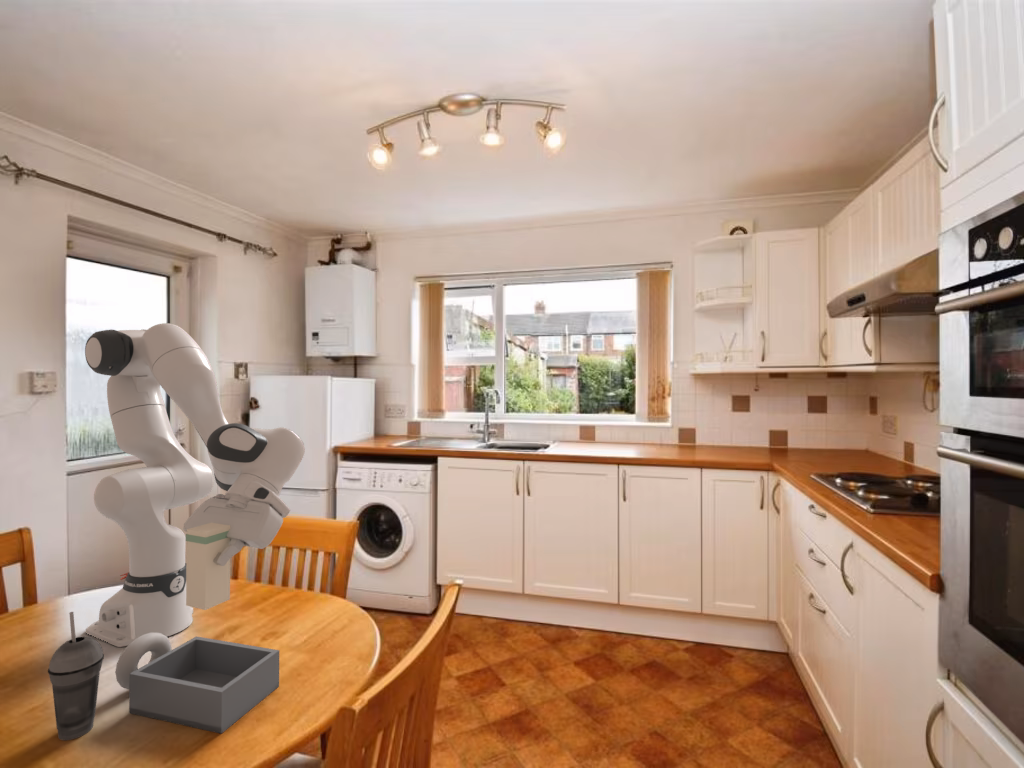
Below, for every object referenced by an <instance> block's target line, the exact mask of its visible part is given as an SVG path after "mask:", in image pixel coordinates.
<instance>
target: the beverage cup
mask: <svg viewBox="0 0 1024 768" xmlns="http://www.w3.org/2000/svg"><path fill="white" fill-rule="evenodd" d="M68 614H69V623H70V624H69V626H70V634H71V639H68V640H67V641H65V642H63V643H62V644H61V645H60V646H59V647H58V648H57V649H56V650H55V652H53V655H52V656H51V658H50V659H51V660H50V661H49V665H48V668H47V673H48V676H49V680H50V683H51V686H52V687H51V689H52V695H53V697H52V698H53V706H54V715H55V716H54V717H55V724H56V730H57V734H58V736H57V737H58V739H59V740H61V741H71V740H74V739H77V738H79V737H82V736H85V735H86V734H88V733H89V732H90V731H91V730H92V729H93V727H94V720H95V716H96V709H97V699H98V690H99V683H100V682H99V681H100V673H101V670H102V666H103V661H104V657H105V653H104V651H103V650H104V649H103V648H102V646H101V644H100V643H99V641H97V640H96V638H94V637H89V636H78V637H76V627H75V617H74V615H75V614H74V611H71V612H69V613H68Z"/></svg>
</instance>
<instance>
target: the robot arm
mask: <svg viewBox="0 0 1024 768" xmlns="http://www.w3.org/2000/svg"><path fill="white" fill-rule="evenodd" d="M84 354H85V355H84V356H85V360H86V363H87V365H88V367H89V368H90V369H91V370H92V371H93V372H94V373H96V374H99V375H104V376H110V377H109V378H108V380H107V381H106V394H107V397H106V398H107V405H108V411H109V417H110V419H111V424H112V429H113V432H114V437H115V440H116V444H117V446H118V448H119V449H120V450H121V451H122V452H123V453H126V454H128V455H130V456H134V457H136V458H138V459H139V460H140V461H141V462H143V464H144V465H145V466H143V467H142V466H141V467H135V468H130V469H125V470H122V471H121V470H120V471H118V472H116V473H115V472H114V473H113V474H110V475H107V476H105V477H103V478H102V479H101V480H100V481H99V482H98V484H97V486H96V487H95V490H94V494H93V502H94V506H95V508H96V509H97V511H98V513H99V514H101V515H102V516H103V517H105V518H106V519H108V520H111V521H113V522H115V523H116V524H117V525H118V526H119V527H120V529H121V530H122V531H123V533H124V535H125V538H126V540H127V546H128V560H129V565H128V566H129V568H128V569H129V571H128V572H126V573H123V574H121V575H119V576H120V577H121V578H120V579H119V580H121V581H122V580H124V583H123V585H122V588H121V589H119V590H118V591H117V592H116V593H114V594H113V595H112V596H110V597H109V598H108V599H107V600H105V601H104V603H102V604H101V606H100V609H99V615H98V620H95V622H93V623H91V624H90V625H89V626H87V627H86V628H85V632H86V633H87V634H86V633H85V634H86V635H88V634H89V635H88V636H90V635H92V636H91V637H93V636H94V637H93V638H95V637H96V638H95V639H98V638H99V639H98V640H100V639H101V641H103V640H104V641H103V642H105V641H106V643H107V642H108V643H107V644H110V645H112V646H115V647H117V648H121V647H127V646H128V645H129V644H130V643H131V642H133V641H134V640H135V639H137V638H138V637H140V636H142V635H144V634H148V633H151V632H152V633H161V634H163V635H165V636H167V637H171V636H172V635H173V636H174V635H176V634H177V633H180V632H182V631H184V630H185V629H187V628H188V627H189V626H190V625H192V623H193V621H194V617H193V613H194V607H190V606H186V543H187V541H186V534H185V533H184V531H185V532H186V533H187V529H190V528H194V527H197V526H201V525H205V524H208V523H218V524H224V525H230V529H229V531H228V533H227V537H228V538H230V542H229V545H230V546H229V547H227V548H226V549H225V550H224V551H223V552H222V553H219V552H218V554H217V555H216V557H215V558H214V560H213V562H214V563H216V564H217V565H221V566H224V565H225V564H226V563H227V562H228V560H229V559H230V560H231V558H233V557H234V556H235V555H236V554H238V553H240V552H241V551H242V549H243V548H244V547H250V548H255V549H260V550H262V549H265V548H267V547H268V546H269V545H270V544H271V543H272V542H273V541H274V539H275V537H276V536H277V535H278V533H279V530H280V529H281V527H282V526H283V522H284V518H287V516H288V515H290V512H291V509H290V507H289V506H288V505H287V503H285V502H284V500H283V499H282V498H281V497H280V495H281V493H282V489H283V487H284V485H286V483H288V482H289V481H290V480H291V479H292V478H293V476H294V474H295V473H296V471H297V469H298V467H299V466H300V464H301V462H302V460H303V458H304V456H305V449H306V448H305V443H304V442H303V440H302V438H301V437H300V436H299V435H298V434H297V433H296V432H295V431H293V430H291V429H290V428H287V427H283V426H281V427H275V428H271V429H267V428H256V427H251V426H249V425H246V424H243V423H238V422H235V423H229V422H228V421H227V418H226V417H225V414H224V412H223V409H222V405H221V400H220V396H219V395H220V394H219V390H218V389H219V388H218V383H217V378H216V374H215V372H214V369H213V366H212V364H211V362H210V359H208V357H207V355H206V353H205V352H204V350H203V349H202V348H201V346H200V345H199V344H198V343H197V341H196V340H195V339H194V338H193V337H192V336H191V335H190V334H189V333H188V332H187V331H186V330H184V329H183V328H182V327H180V326H179V325H177V324H173V323H169V322H168V323H167V322H166V323H165V322H164V323H158V324H155V325H153V326H150V327H149V328H148V329H143V328H142V329H123V330H116V329H105V330H99V331H95V332H94V333H92V334H91V335H90V336H89V337H88V339H87V340H86V343H85V348H84ZM161 388H162V389H163V391H164V392H165V393H166V394H167V396H169V397H170V399H171V400H172V401H173V402H174V403H175V405H176V406H177V407H178V409H180V411H181V412H182V413H183V414H184V416H185V417H187V419H188V420H189V422H190V423H191V424H192V426H194V429H195V430H196V432H197V433H198V435H199V436H200V438H201V440H202V442H203V443H204V446H205V447H206V449H207V453H208V457H209V461H210V463H211V466H212V469H211V468H210V467H209V466H208V464H206V463H204V462H202V461H199V460H198V459H196V458H194V457H193V456H192V455H191V454H189V452H187V451H186V449H184V447H183V446H182V444H181V443H180V442H179V441H178V439H177V437H176V435H175V433H174V431H173V428H172V425H171V421H170V419H169V416H168V413H167V408H166V406H165V402H164V399H163V396H162V393H161ZM212 470H213V471H212ZM213 473H214V474H213ZM214 481H215V482H214ZM214 483H216V484H217V486H218V487H219V488H220V489H222V490H223V491H225V494H222V493H218V494H216V495H215V496H212V497H210V498H207V499H206V500H204V501H203V502H202V503H201V504H200V505H198V507H197V508H196V509H195V510H194V511H193V512H192V513H191V515H190V516H189V517H188V518H187V519H186V520H185V522H184V523H183V530H184V531H183V530H182V529H181V528H179V527H178V526H175V525H174V524H169V523H167V521H166V519H165V511H168V510H170V509H171V510H172V509H176V508H179V507H185V506H189V505H191V504H193V503H196V502H198V501H201V500H202V499H205V498H206V497H208V496H209V495H210V494H211V492H212V491H213V487H214Z"/></svg>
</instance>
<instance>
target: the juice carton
mask: <svg viewBox="0 0 1024 768" xmlns="http://www.w3.org/2000/svg"><path fill="white" fill-rule="evenodd" d="M229 529H230V525H224V524H218V523H208V524H205V525H201V526H197V527H194V528H190V529H187V532H186V534H185V537H186V554H185V563H186V606H190V607H193V608H194V609H200V610H202V611H206V610H209V609H211V608H214V607H216V606H217V605H219V604H223V603H225V602H227V601H230V600H231V558H230V559H229V560H228V562H227V563H226V564H225V565H224V566H221V565H217V564H216V563H214V562H213V560H214V558H215V557H216V555H217V554H218V552H219V553H222V552H223V551H224V550H225V549H226V548H227V547H229V546H230V545H229V542H230V538H228V537H227V533H228V531H229Z"/></svg>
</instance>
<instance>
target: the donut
mask: <svg viewBox="0 0 1024 768" xmlns="http://www.w3.org/2000/svg"><path fill="white" fill-rule="evenodd" d="M171 650H173V649H172V643H171V641H170V639H169V638H168V636H165V635H163V634H161V633H152V632H151V633H148V634H144V635H142V636H140V637H138V638H137V639H135V640H134V641H133V642H131V643H130V644H129V645H127V646H125V648H124V650H123V651H122V653H121V654H120V656H119V658H118V660H117V662H116V666H115V672H114V673H115V679H116V682H117V684H118V685H119V686H120V687H121V688H124V689H126V690H129V677H130V673H132V672H134V671H135V670H137V669H139V667H138V666H139V662H140V660H141V659H142V657H143V656H144V655H145V654H147V653H148V652H150V654H151V655H150V656H151V657H150V659H149V661H148V663H150V662H152V661H153V660H155V659H157V658H159V657H160V656H162V655H164V654H166V653H168V652H169V651H171Z"/></svg>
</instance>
